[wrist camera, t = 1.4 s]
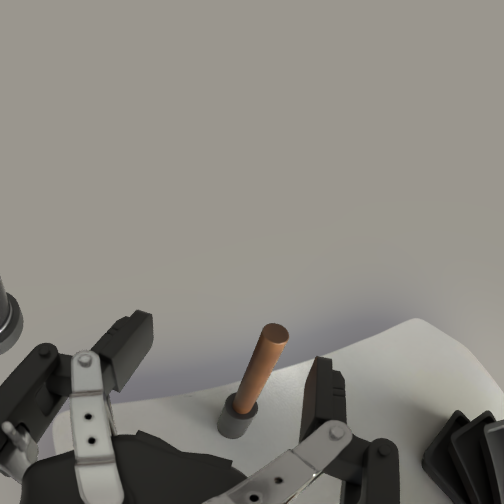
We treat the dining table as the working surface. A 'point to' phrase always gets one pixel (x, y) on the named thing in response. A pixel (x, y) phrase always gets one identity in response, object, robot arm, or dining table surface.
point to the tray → (468, 459)
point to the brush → (252, 382)
